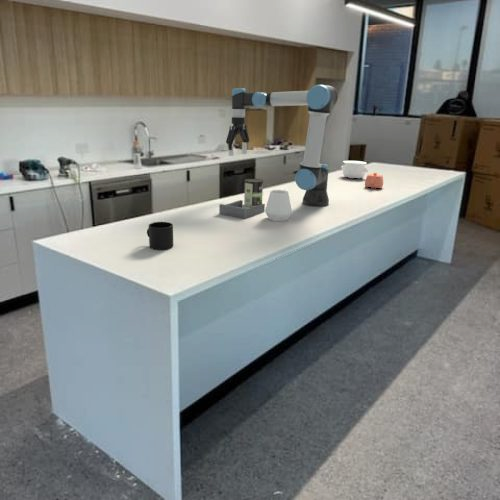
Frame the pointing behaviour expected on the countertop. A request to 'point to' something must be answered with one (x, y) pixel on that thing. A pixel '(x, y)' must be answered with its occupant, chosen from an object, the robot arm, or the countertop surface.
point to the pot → (354, 169)
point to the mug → (160, 235)
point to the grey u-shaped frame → (240, 210)
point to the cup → (278, 205)
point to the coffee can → (253, 192)
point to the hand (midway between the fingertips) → (237, 154)
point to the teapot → (374, 181)
